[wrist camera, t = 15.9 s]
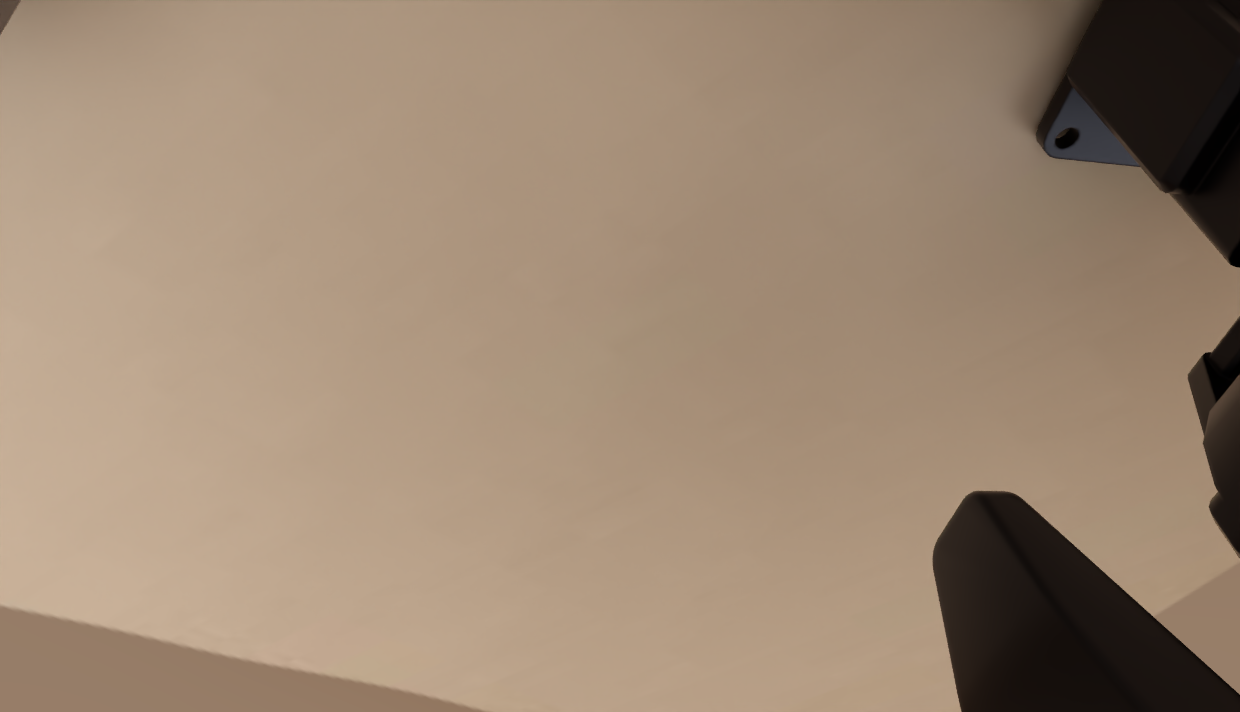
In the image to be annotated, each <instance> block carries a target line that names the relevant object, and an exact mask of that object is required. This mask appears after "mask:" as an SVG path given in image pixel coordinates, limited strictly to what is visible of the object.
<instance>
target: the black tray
mask: <svg viewBox="0 0 1240 712" xmlns="http://www.w3.org/2000/svg"><path fill="white" fill-rule="evenodd" d="M20 1H21V0H0V35H1V34H2V32H3V30H4V28H5V27H6V25H7V23H8V22H9V20H10V18H11V16H12V15H13V13H14V11H15V9H16V8H17V6H18V4H19V3H20Z"/></svg>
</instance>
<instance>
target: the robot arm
mask: <svg viewBox="0 0 1240 712" xmlns="http://www.w3.org/2000/svg"><path fill="white" fill-rule="evenodd" d="M1068 128H1070V129H1069V131H1068V132H1067V133H1066V134H1065V135H1063V136H1062V137H1060V138H1056V137H1057V136H1058V134H1059V133H1060V132H1062V131H1063V130H1065V129H1068ZM1036 138H1037V142H1038V143H1039V144H1040V146H1041V147H1042V148H1043V150H1044V151H1045V152H1046V153H1047V154H1048V155H1049V156H1050V157H1053V158H1058V159H1067V160H1077V161H1087V162H1097V163H1107V164H1116V165H1126V166H1136V167H1141V168H1142V169H1143V170H1144V172H1145V173H1146V174H1147V175H1148V176H1149V177H1150V179H1151V180H1152V181H1153V182H1154V183H1155V184H1156V186H1157V187H1158V188H1159V189H1160V190H1161V191H1163V192H1165V193H1169V194H1170V195H1171V196H1172V197H1173V198H1174V199H1175V201H1176V202H1177V203H1178V204H1179V205H1180V206H1181V208H1182V209H1183V210H1184V211H1185V212H1186V213H1187V215H1188V216H1189V217H1190V218H1191V219H1192V220H1193V222H1194V223H1195V224H1196V225H1197V226H1198V227H1199V229H1200V230H1201V231H1202V232H1203V233H1204V234H1205V236H1206V237H1207V238H1208V239H1209V240H1210V241H1211V243H1212V244H1213V245H1214V246H1215V247H1216V248H1217V250H1218V251H1219V252H1220V253H1221V254H1222V255H1223V257H1224V258H1225V259H1226V260H1227V261H1228V262H1229V264H1230V265H1232V266H1235V267H1240V0H1103V1H1102V3H1101V5H1100V7H1099V9H1098V11H1097V12H1096V14H1095V16H1094V18H1093V20H1092V22H1091V24H1090V26H1089V28H1088V30H1087V32H1086V34H1085V35H1084V37H1083V39H1082V41H1081V43H1080V45H1079V47H1078V49H1077V51H1076V53H1075V55H1074V57H1073V58H1072V60H1071V62H1070V64H1069V66H1068V68H1067V71H1066V74H1065V76H1064V78H1063V80H1062V82H1061V84H1060V86H1059V88H1058V89H1057V91H1056V93H1055V95H1054V97H1053V99H1052V101H1051V103H1050V105H1049V107H1048V109H1047V110H1046V112H1045V114H1044V116H1043V118H1042V120H1041V122H1040V124H1039V126H1038V129H1037V132H1036ZM1188 381H1189V384H1190V388H1191V391H1192V395H1193V398H1194V402H1195V405H1196V409H1197V412H1198V416H1199V419H1200V423H1201V426H1202V430H1203V433H1204V441H1203V445H1204V449H1205V452H1206V456H1207V459H1208V463H1209V466H1210V470H1211V474H1212V477H1213V481H1214V484H1215V487H1216V489H1217V490H1218V493H1217V494H1216V495H1215V496H1214V497H1213V498H1212V500H1211V501H1210V504H1209V508H1210V511H1211V514H1212V516H1213V518H1214V521H1215V523H1216V524H1217V526H1218V527H1219V529H1220V530H1221V532H1222V533H1223V535H1224V536H1225V538H1226V539H1227V541H1228V542H1229V543H1230V545H1231V546H1232V548H1233V549H1234V551H1235V552H1236V554H1237V555H1238V557H1239V558H1240V317H1239V318H1238V319H1237V321H1236V322H1235V323H1234V325H1233V326H1232V327H1231V328H1230V330H1229V331H1228V332H1227V334H1226V335H1225V336H1224V337H1223V339H1222V340H1221V341H1220V343H1219V344H1218V345H1217V346H1216V348H1215V349H1214V350H1213V352H1208V353H1205V354H1204V355H1203V356H1202V357H1201V358H1200V360H1199V361H1198V362H1197V363H1196V365H1195V366H1194V367H1193V369H1192V370H1191V371H1190V373H1189V374H1188ZM933 570H934V576H935V581H936V586H937V591H938V596H939V601H940V607H941V612H942V617H943V622H944V627H945V632H946V637H947V642H948V648H949V653H950V658H951V663H952V668H953V673H954V678H955V684H956V689H957V694H958V698H959V703H960V707H961V711H962V712H1240V695H1239V694H1238V693H1237V692H1236V691H1235V690H1234V689H1233V688H1231V687H1230V686H1229V685H1228V684H1227V683H1226V682H1225V681H1224V680H1223V679H1222V678H1221V677H1220V676H1218V675H1217V674H1216V673H1215V672H1214V671H1213V670H1212V669H1211V668H1210V667H1208V666H1207V665H1206V664H1205V663H1204V662H1203V661H1202V660H1201V659H1199V658H1198V657H1197V656H1196V655H1195V654H1194V653H1193V652H1192V651H1191V650H1190V649H1188V648H1187V647H1186V646H1185V645H1184V644H1183V643H1182V642H1181V641H1180V640H1178V639H1177V638H1176V637H1175V636H1174V635H1173V634H1172V633H1171V632H1170V631H1168V630H1167V629H1166V628H1165V627H1164V626H1163V625H1162V624H1161V623H1159V622H1158V621H1157V620H1156V619H1155V618H1154V617H1153V616H1152V615H1151V614H1150V613H1149V612H1147V611H1146V610H1145V609H1144V608H1143V607H1142V606H1141V605H1140V604H1139V603H1137V602H1136V601H1135V600H1134V599H1133V598H1132V597H1131V596H1130V595H1129V594H1127V593H1126V592H1125V591H1124V590H1123V589H1122V588H1121V587H1120V586H1119V585H1117V584H1116V583H1115V582H1114V581H1113V580H1112V579H1111V578H1110V577H1109V576H1107V575H1106V574H1105V573H1104V572H1103V571H1102V570H1101V569H1100V568H1099V567H1097V566H1096V565H1095V564H1094V563H1093V562H1092V561H1091V560H1090V559H1089V558H1087V557H1086V556H1085V555H1084V554H1083V553H1082V552H1081V551H1080V550H1079V549H1077V548H1076V547H1075V546H1074V545H1073V544H1072V543H1071V542H1070V541H1069V540H1067V539H1066V538H1065V537H1064V536H1063V535H1062V534H1061V533H1060V532H1059V531H1058V530H1056V529H1055V528H1054V527H1053V526H1052V525H1051V524H1050V523H1049V522H1048V521H1046V520H1045V519H1044V518H1043V517H1042V516H1041V515H1040V514H1039V513H1038V512H1036V511H1035V510H1034V509H1033V508H1032V507H1031V506H1030V505H1029V504H1028V503H1026V502H1025V501H1024V500H1023V499H1022V498H1020V497H1019V496H1017V495H1016V494H1014V493H1011V492H1005V491H975V492H972V493H970V494H968V495H967V496H966V497H965V498H964V499H963V501H962V502H961V504H960V505H959V507H958V508H957V510H956V512H955V513H954V515H953V516H952V518H951V519H950V521H949V522H948V524H947V526H946V527H945V529H944V530H943V532H942V533H941V535H940V537H939V538H938V540H937V542H936V544H935V547H934V551H933Z"/></svg>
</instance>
